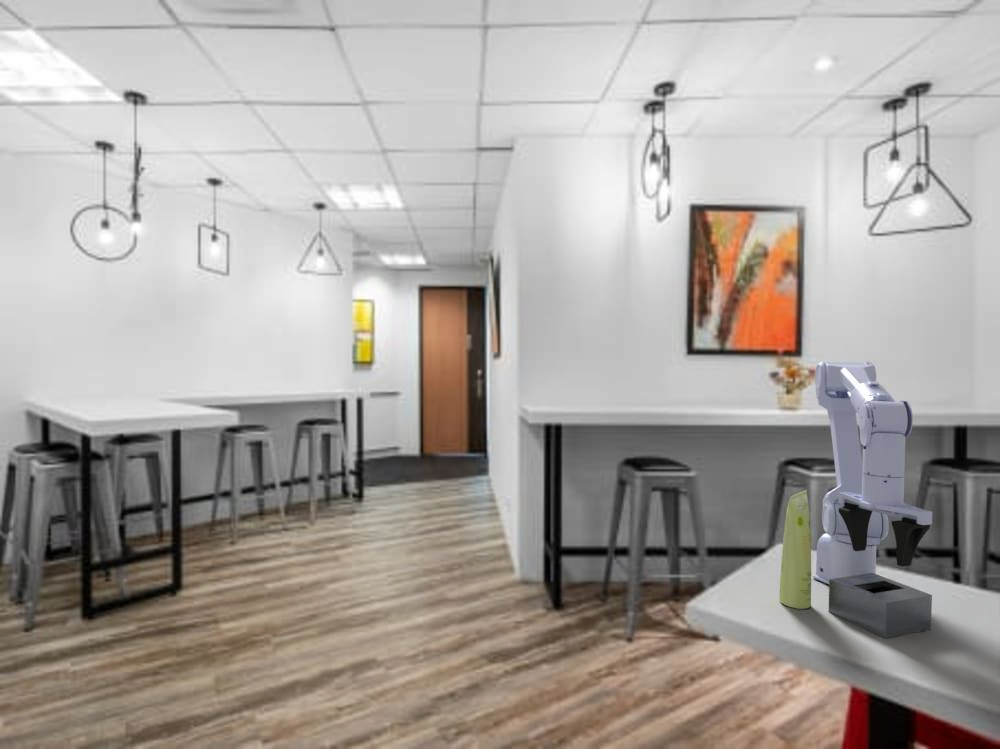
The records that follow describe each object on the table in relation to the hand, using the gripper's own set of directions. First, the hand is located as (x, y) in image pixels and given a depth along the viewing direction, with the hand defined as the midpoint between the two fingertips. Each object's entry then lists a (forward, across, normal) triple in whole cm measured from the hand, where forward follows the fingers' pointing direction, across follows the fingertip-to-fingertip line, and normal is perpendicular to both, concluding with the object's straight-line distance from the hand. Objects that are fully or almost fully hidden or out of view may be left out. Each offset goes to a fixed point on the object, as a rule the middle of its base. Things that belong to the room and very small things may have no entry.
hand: (880, 557), depth 94 cm
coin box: (+10, 0, 0) cm, 10 cm away
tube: (+11, -9, -8) cm, 16 cm away
